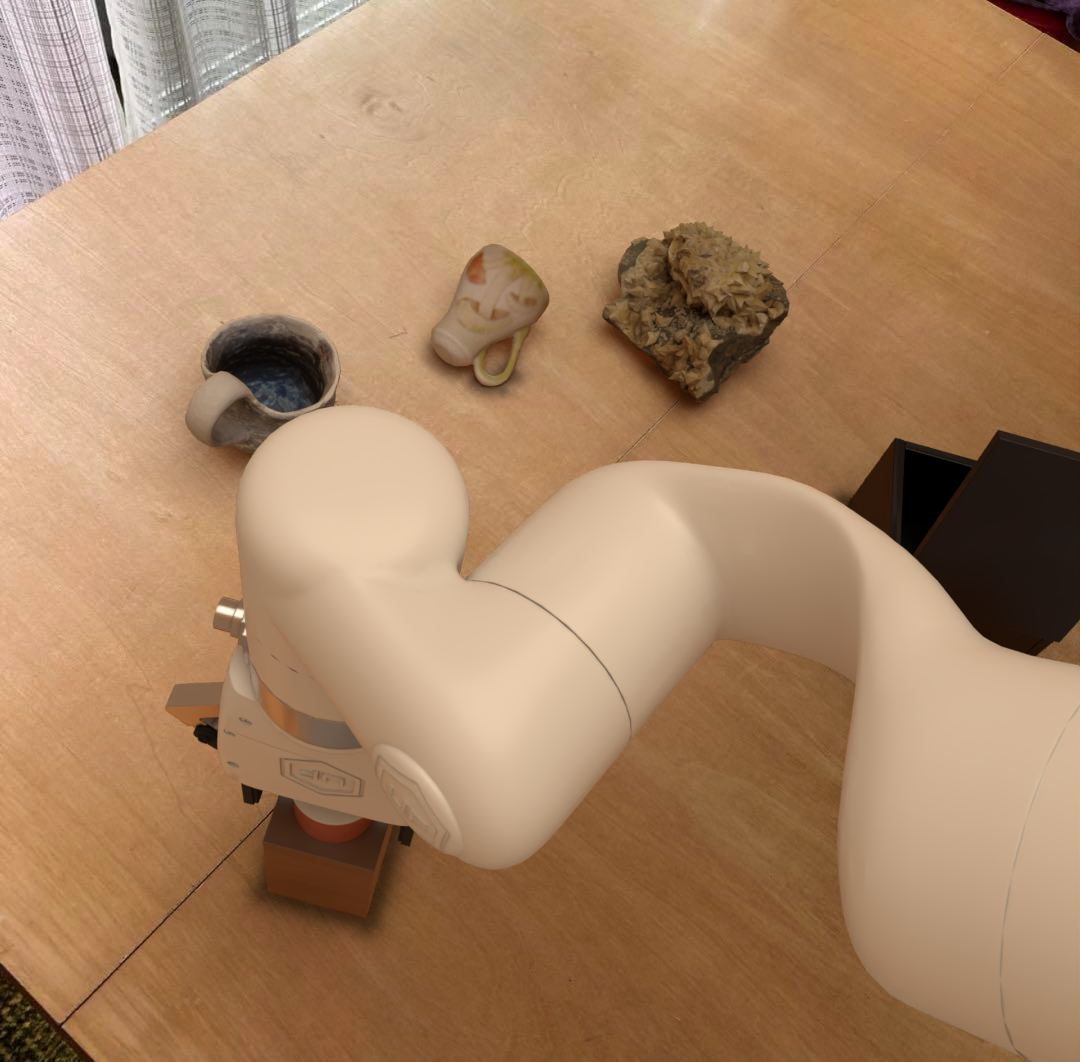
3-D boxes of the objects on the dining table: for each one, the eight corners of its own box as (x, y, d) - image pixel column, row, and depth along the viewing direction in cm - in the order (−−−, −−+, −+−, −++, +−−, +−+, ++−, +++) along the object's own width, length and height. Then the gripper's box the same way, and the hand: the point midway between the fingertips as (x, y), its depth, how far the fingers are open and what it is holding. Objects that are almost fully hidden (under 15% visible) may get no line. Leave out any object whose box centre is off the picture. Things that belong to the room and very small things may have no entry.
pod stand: (366, 918, 68) (374, 871, 60) (267, 892, 68) (262, 842, 60) (394, 822, 72) (405, 765, 63) (300, 797, 71) (299, 736, 63)
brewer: (847, 503, 91) (895, 436, 84) (988, 542, 91) (1047, 479, 84) (836, 653, 83) (887, 595, 76) (989, 695, 84) (1054, 641, 76)
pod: (366, 857, 60) (370, 834, 57) (277, 834, 60) (275, 809, 57) (391, 772, 63) (396, 745, 60) (306, 749, 63) (306, 721, 59)
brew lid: (997, 428, 65) (999, 438, 65) (1192, 483, 66) (1195, 493, 65) (889, 587, 76) (890, 596, 75) (1057, 633, 76) (1059, 643, 76)
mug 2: (400, 355, 91) (429, 232, 87) (477, 344, 99) (508, 230, 95) (470, 395, 88) (504, 270, 84) (544, 380, 96) (579, 265, 91)
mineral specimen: (557, 321, 96) (581, 232, 88) (654, 251, 102) (685, 162, 94) (690, 429, 92) (728, 347, 84) (782, 350, 98) (826, 267, 90)
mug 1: (360, 403, 88) (366, 313, 80) (284, 529, 81) (281, 445, 73) (244, 356, 88) (237, 262, 80) (159, 477, 82) (142, 388, 73)
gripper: (93, 678, 44) (147, 822, 59) (536, 796, 44) (479, 910, 59) (168, 518, 48) (201, 691, 63) (573, 628, 48) (511, 774, 63)
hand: (336, 797), depth 61 cm, fingers open, 7 cm apart
